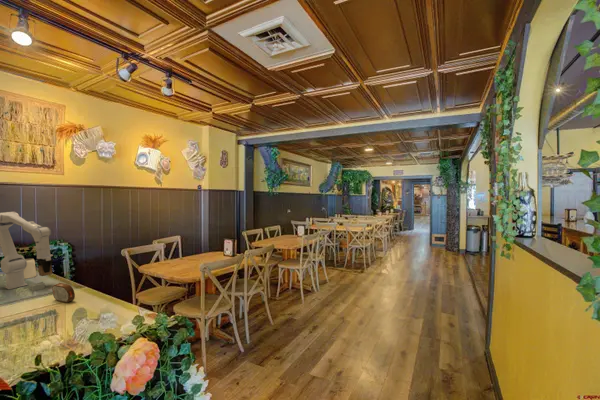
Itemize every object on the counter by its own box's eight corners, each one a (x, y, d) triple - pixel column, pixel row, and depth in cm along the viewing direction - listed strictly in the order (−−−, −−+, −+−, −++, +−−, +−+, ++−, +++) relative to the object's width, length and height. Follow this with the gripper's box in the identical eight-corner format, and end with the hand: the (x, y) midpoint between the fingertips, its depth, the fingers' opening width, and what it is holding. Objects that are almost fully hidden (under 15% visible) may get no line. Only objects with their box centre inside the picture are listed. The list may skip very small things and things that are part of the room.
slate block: (30, 289, 156) (30, 284, 156) (42, 287, 161) (42, 282, 160) (33, 291, 154) (32, 286, 153) (45, 288, 158) (44, 283, 157)
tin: (76, 301, 134) (74, 284, 134) (68, 304, 131) (66, 286, 131) (59, 298, 141) (57, 281, 140) (51, 300, 138) (50, 283, 137)
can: (39, 275, 185) (37, 257, 184) (28, 279, 178) (26, 260, 178) (30, 276, 185) (28, 258, 185) (19, 279, 179) (17, 260, 178)
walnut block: (39, 275, 160) (38, 265, 160) (49, 273, 164) (48, 263, 164) (42, 276, 158) (41, 266, 158) (52, 273, 162) (51, 264, 161)
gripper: (56, 247, 160) (59, 271, 160) (47, 246, 167) (49, 268, 168) (40, 250, 154) (43, 274, 154) (31, 248, 161) (33, 271, 162)
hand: (45, 271), depth 161 cm, fingers closed on walnut block, 4 cm apart
